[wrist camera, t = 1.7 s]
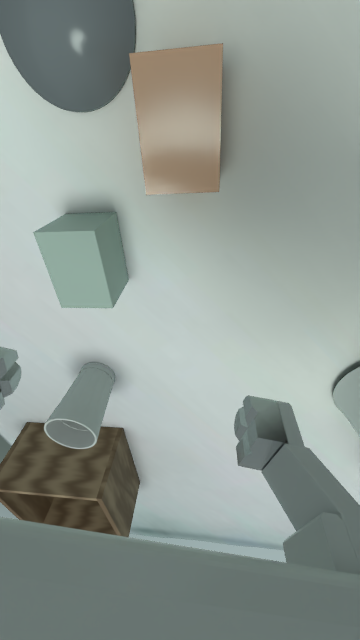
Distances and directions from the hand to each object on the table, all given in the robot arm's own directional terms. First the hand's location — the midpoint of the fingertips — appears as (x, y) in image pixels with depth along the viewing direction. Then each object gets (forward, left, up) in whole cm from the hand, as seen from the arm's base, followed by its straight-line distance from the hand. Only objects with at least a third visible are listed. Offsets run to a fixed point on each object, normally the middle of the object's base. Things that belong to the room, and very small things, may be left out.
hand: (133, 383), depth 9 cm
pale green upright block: (+12, +5, -26) cm, 29 cm away
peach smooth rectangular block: (0, -7, -26) cm, 27 cm away
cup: (+18, +29, -26) cm, 43 cm away
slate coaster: (+10, -15, -26) cm, 32 cm away
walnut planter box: (+28, +59, -26) cm, 70 cm away
